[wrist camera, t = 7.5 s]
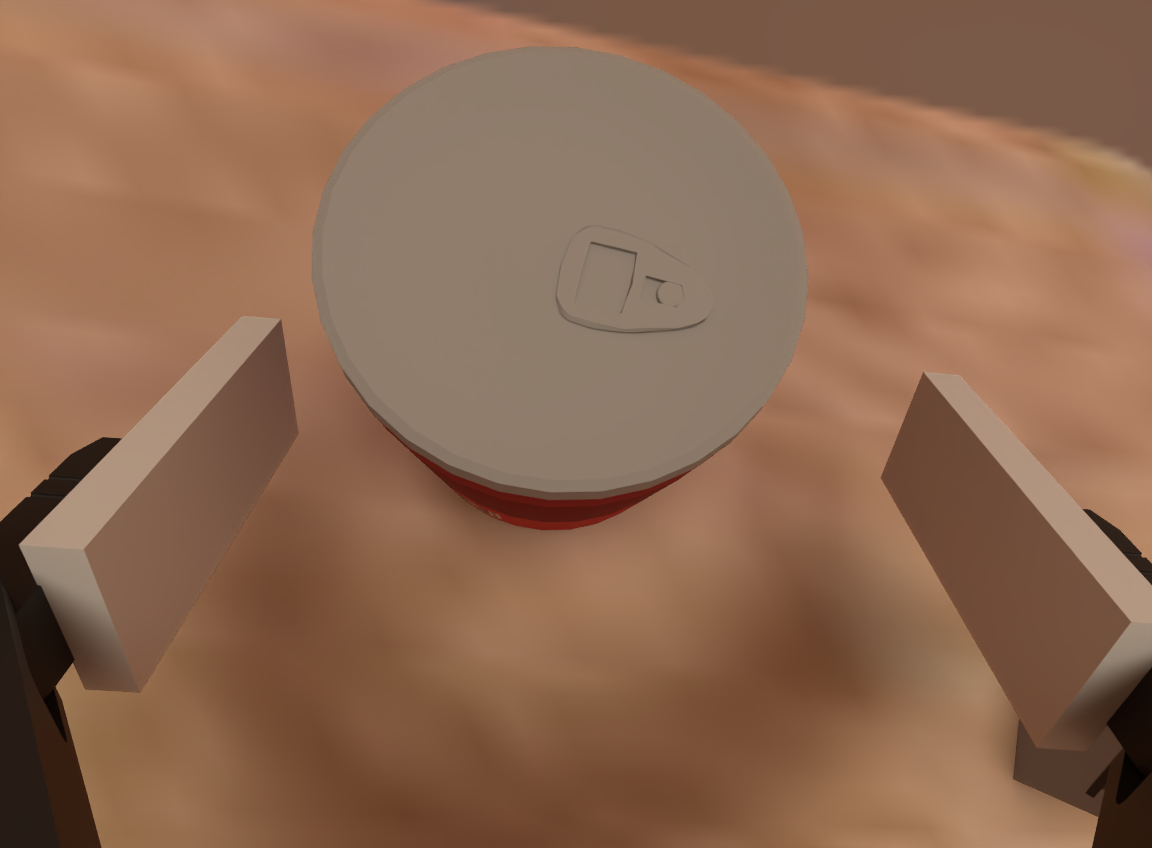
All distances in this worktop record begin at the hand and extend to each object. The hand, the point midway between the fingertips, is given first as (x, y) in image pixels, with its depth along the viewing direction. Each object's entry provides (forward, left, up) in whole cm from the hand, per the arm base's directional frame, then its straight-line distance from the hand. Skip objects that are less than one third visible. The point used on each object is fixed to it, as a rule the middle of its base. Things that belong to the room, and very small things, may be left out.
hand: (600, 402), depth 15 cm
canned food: (+1, +1, -7) cm, 7 cm away
